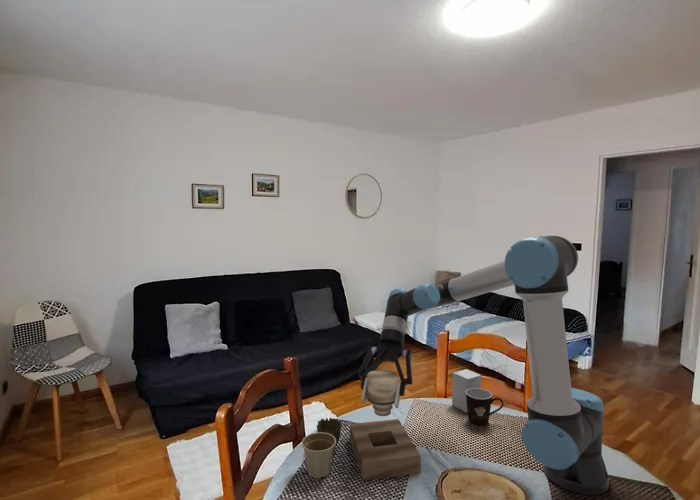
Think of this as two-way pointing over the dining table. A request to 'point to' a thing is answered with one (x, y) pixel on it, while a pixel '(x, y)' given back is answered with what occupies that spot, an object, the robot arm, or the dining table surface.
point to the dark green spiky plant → (330, 427)
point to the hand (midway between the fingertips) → (379, 403)
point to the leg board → (383, 449)
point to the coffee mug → (479, 406)
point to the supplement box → (463, 387)
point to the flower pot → (319, 453)
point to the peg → (382, 390)
